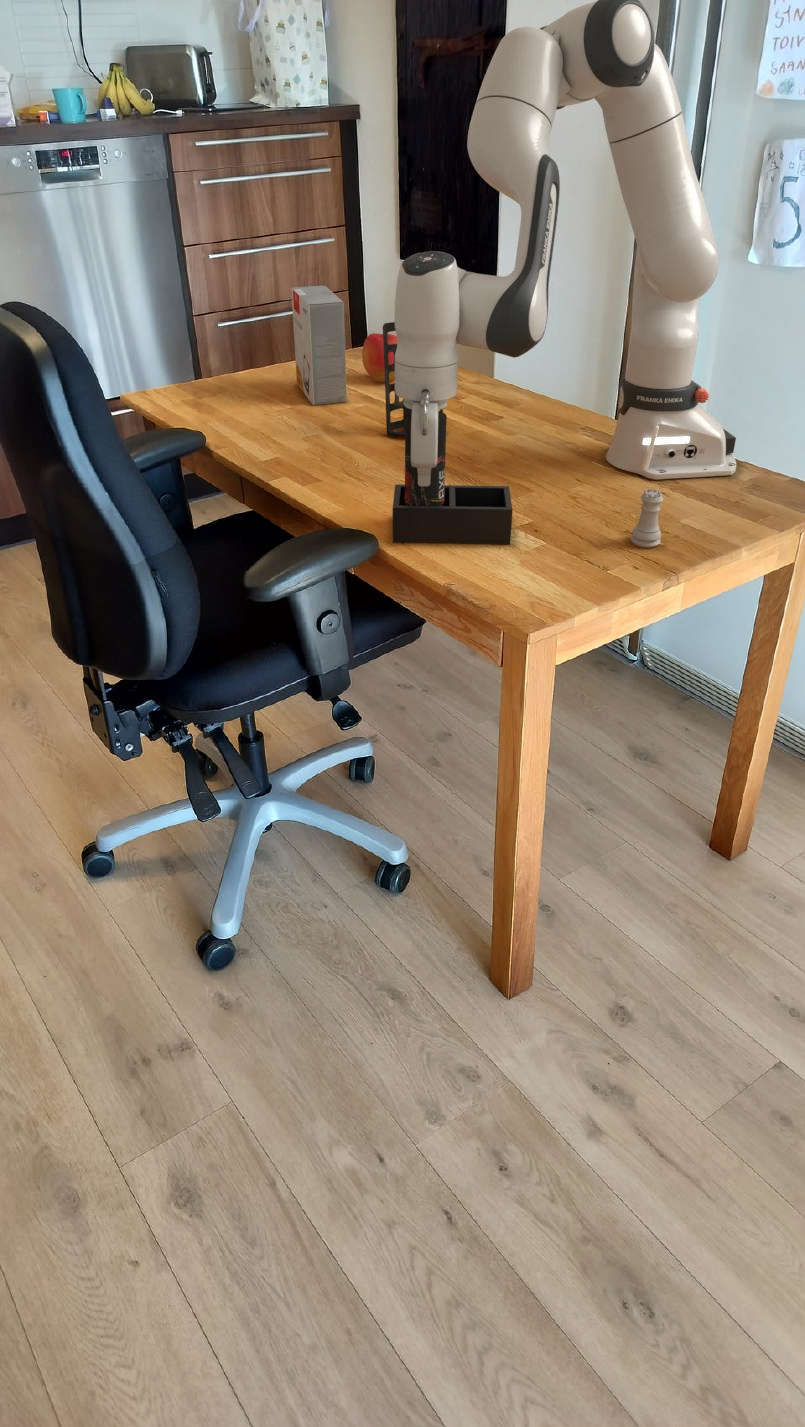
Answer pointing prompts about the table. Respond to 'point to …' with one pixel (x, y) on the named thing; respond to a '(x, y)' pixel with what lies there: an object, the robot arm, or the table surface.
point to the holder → (392, 387)
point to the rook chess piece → (648, 521)
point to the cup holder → (456, 517)
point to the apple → (377, 356)
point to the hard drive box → (319, 344)
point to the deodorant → (435, 490)
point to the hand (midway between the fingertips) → (424, 475)
